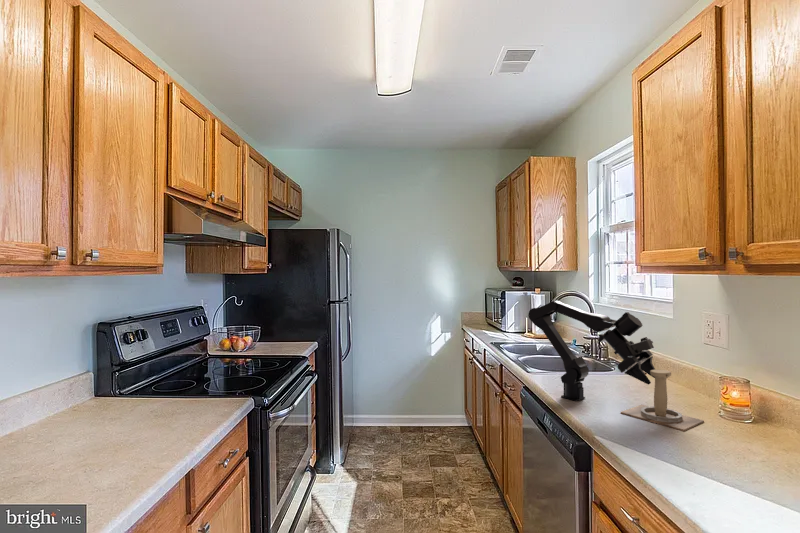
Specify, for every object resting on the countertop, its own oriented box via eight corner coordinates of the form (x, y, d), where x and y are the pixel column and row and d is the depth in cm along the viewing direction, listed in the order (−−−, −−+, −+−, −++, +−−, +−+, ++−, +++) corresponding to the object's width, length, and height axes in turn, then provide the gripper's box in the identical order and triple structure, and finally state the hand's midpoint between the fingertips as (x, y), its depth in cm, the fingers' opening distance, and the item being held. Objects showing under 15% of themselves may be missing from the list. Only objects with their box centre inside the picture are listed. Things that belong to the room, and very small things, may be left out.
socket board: (620, 413, 151) (620, 408, 151) (641, 405, 159) (641, 401, 159) (683, 431, 135) (683, 425, 135) (704, 422, 143) (704, 416, 143)
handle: (674, 417, 146) (674, 372, 146) (658, 419, 144) (659, 373, 144) (662, 412, 150) (662, 369, 150) (646, 414, 149) (647, 370, 149)
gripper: (627, 333, 146) (664, 372, 138) (646, 327, 159) (681, 362, 151) (603, 353, 151) (637, 391, 144) (623, 346, 164) (655, 381, 156)
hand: (654, 381), depth 148 cm, fingers open, 9 cm apart
